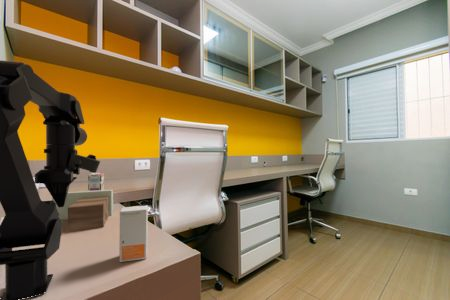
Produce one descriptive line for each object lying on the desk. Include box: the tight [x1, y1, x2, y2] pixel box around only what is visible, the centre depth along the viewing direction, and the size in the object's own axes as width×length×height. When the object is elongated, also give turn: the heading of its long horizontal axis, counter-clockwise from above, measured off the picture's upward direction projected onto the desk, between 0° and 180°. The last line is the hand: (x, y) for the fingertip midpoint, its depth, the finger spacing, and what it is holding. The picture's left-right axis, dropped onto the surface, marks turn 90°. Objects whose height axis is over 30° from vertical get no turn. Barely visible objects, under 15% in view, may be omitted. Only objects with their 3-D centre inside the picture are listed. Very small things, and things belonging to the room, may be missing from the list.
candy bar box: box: [87, 172, 105, 191], centre depth 92 cm, size 11×5×16 cm, turn 25°
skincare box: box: [119, 205, 149, 263], centre depth 52 cm, size 6×4×12 cm
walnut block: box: [67, 196, 109, 233], centre depth 77 cm, size 14×10×8 cm
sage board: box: [51, 189, 114, 221], centre depth 84 cm, size 3×20×10 cm, turn 107°
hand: (61, 206), depth 53 cm, fingers closed
